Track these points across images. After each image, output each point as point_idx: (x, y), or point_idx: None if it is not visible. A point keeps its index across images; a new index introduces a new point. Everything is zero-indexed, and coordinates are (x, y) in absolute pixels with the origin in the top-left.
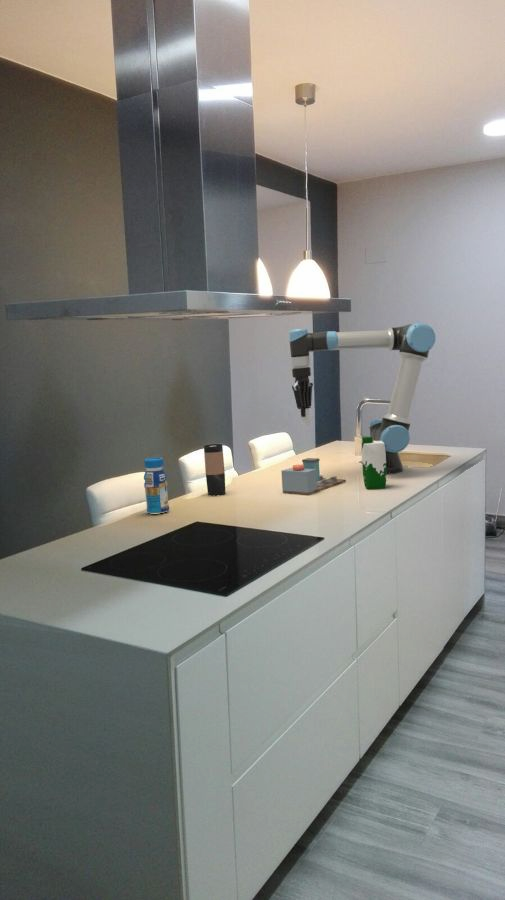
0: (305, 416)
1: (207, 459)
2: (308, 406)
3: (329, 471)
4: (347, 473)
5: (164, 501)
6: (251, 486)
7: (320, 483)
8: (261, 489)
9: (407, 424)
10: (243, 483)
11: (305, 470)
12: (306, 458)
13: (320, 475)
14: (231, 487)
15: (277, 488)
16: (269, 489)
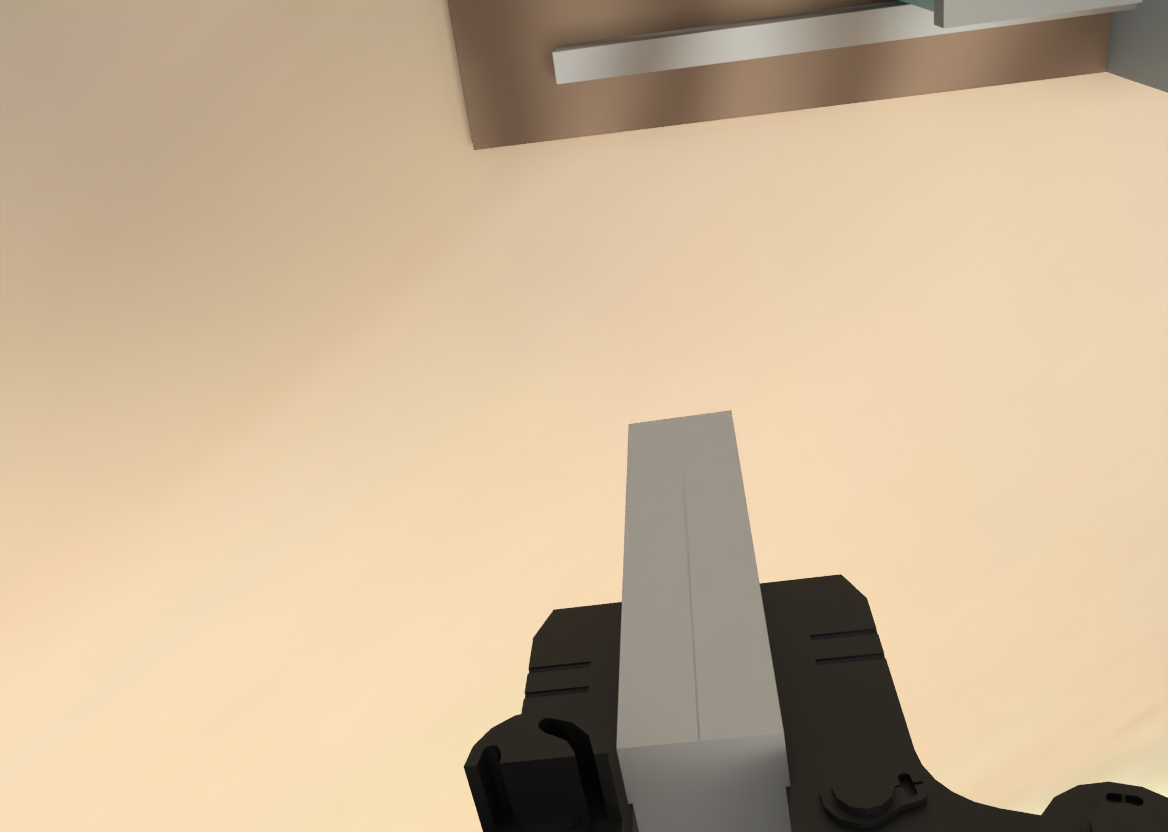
0: (763, 586)
1: None
2: (570, 823)
3: (53, 401)
4: (9, 139)
5: None
6: (1042, 592)
7: None
8: (1156, 409)
9: None
10: (936, 740)
11: None
12: (1001, 18)
13: (580, 65)
14: (1141, 718)
15: (1059, 290)
16: (1134, 333)
